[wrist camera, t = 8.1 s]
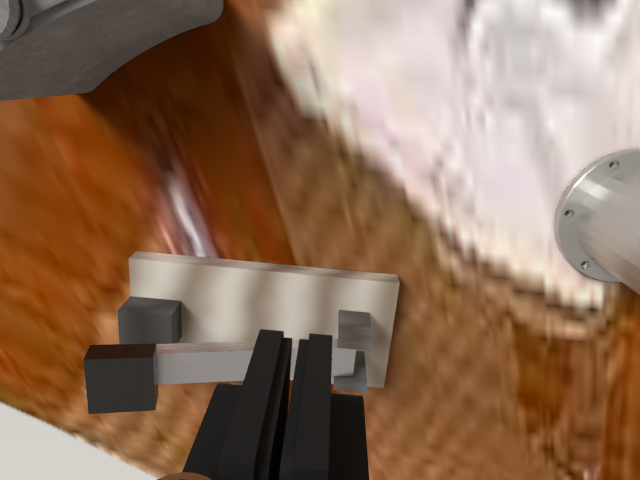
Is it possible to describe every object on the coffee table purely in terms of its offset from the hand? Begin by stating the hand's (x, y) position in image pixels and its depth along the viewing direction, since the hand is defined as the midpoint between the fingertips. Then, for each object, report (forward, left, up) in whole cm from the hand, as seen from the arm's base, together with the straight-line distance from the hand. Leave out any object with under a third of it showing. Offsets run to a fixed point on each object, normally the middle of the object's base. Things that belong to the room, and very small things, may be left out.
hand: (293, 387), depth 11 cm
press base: (+5, +18, -35) cm, 39 cm away
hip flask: (+17, -8, -35) cm, 40 cm away
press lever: (+7, +18, -27) cm, 33 cm away
